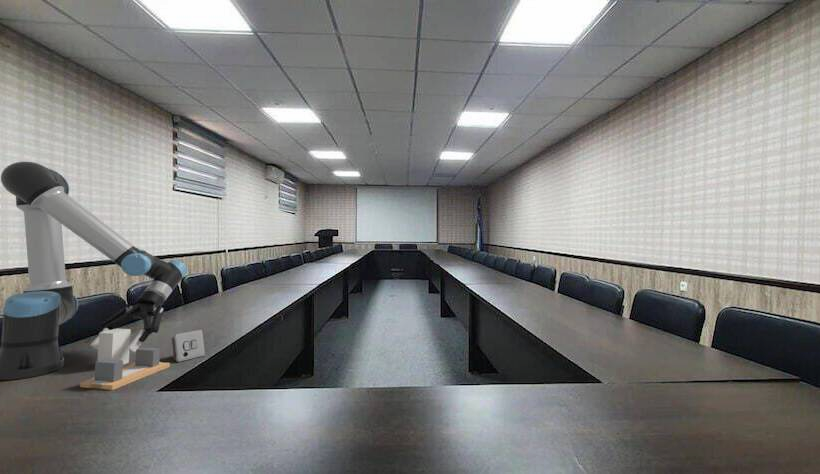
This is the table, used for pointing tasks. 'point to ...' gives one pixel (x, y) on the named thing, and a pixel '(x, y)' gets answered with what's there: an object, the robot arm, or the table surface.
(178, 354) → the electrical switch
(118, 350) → the block
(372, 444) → the table surface
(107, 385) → the board
